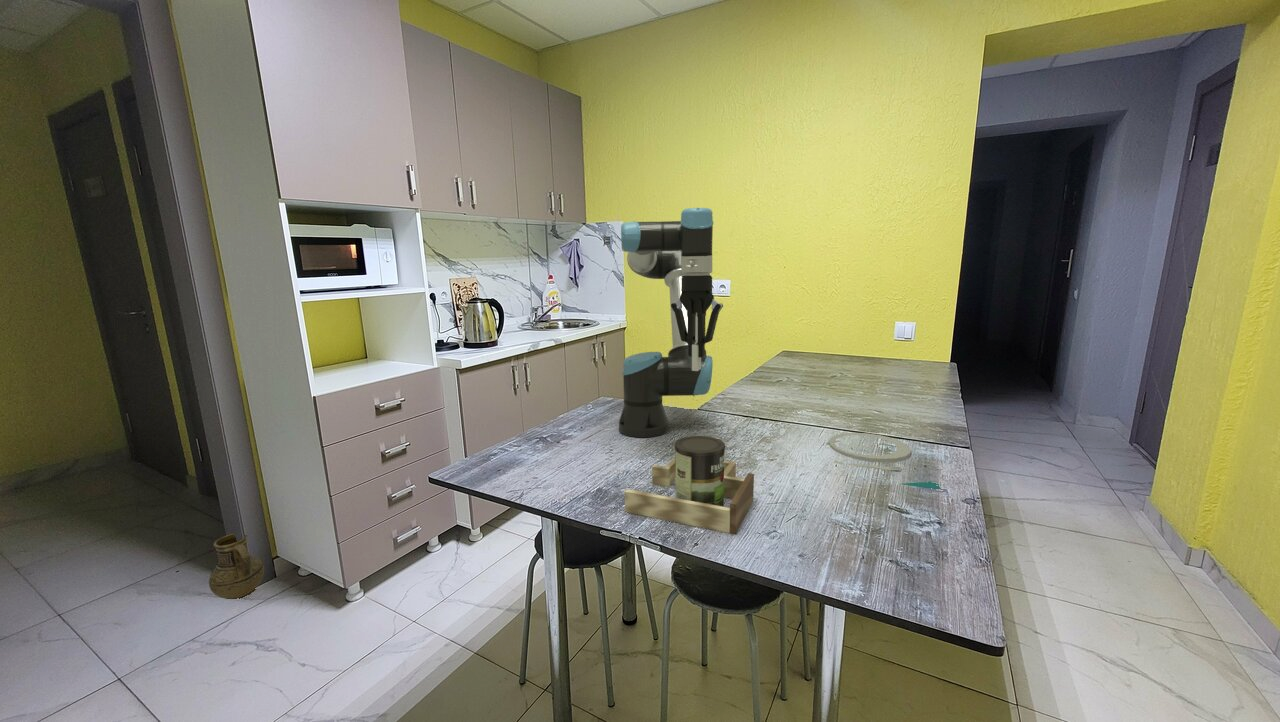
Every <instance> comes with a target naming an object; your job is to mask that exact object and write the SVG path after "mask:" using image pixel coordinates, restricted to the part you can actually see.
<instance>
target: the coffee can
mask: <svg viewBox="0 0 1280 722" xmlns="http://www.w3.org/2000/svg"><path fill="white" fill-rule="evenodd" d="M673 447H674V450H675V451H674V454H675V455H674V458H675V480H674V482H675V483H674V484H675V485H674V486H675V498H678V499H684V500H689V501H695V502H700V503H706V504H711V505H717V506H722V507H725V502H724V501H725V498H724V461H725V449H726V444H725V442H724V441H723V440H722V439H719V438H717V437H713V436H706V435H690V436H685V437H681V438H678V439H677V440H676V441H675V442H674V446H673Z"/></svg>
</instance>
